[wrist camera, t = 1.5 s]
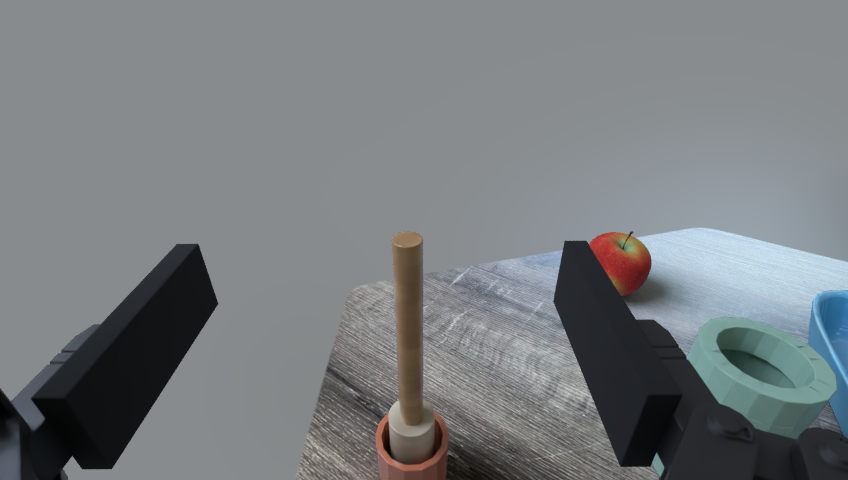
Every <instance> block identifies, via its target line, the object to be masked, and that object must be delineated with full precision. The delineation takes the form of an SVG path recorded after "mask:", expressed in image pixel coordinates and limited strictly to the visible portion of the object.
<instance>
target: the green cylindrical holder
mask: <svg viewBox="0 0 848 480" xmlns="http://www.w3.org/2000/svg"><path fill="white" fill-rule="evenodd" d="M686 359H687V360H689V361H690V363H691V364H692V365H693V367H694V368H695V370H696V371H697V373H698V374H699V375H700V377H701V378H702V380H703V381H704V383H705V384H706V385H707V387H708V388H709V390H710V391H711V393H712V394H713V395H714V397H715V398H716V400H717V401H718V402H719V404H722V405H725V406H728V407H731V408H732V409H734V410H736V411H737V412H739V413H741V414H742V415H743V416H744V417H745V418H746V419H748V420H749V421H750V422H751V423H752V424H753V426H754V428H756V429H759V430H762V431H766V432H770V433H774V434H778V435H782V436H786V437H789V438H793V439H797V438H798V437H799V435H800V434H801V433H802V432H803V431H804V430H805V429H808V428H809V426H810V425H811V424H812V422H813V421H814V420H815V419H816V417H817V416H818V415H819V413H820V412H821V411H822V409H823V408H824V407H825V405H826V404H827V403H828V401H829V400H830V399H831V397H832V396H833V395H834V394H835V392H836V391H837V383H836V376H835V374H834V372H833V371H832V369H831V368H830V366H829V365H828V363H827V362H826V360H825V359H824V358H823V357H822V356H820V355H819V354H818V353H817V352H816V351H815V350H814V349H812V348H811V347H810V346H808V345H807V344H806V343H804V342H803V341H801V340H799V339H798V338H796V337H794V336H793V335H791V334H789V333H787V332H785V331H783V330H780V329H778V328H775V327H773V326H771V325H768V324H765V323H762V322H758V321H754V320H750V319H744V318H735V317H721V318H716V319H711V320H710V321H708V322H707V323H705V324H704V325H703V326H701V328H700V330H699V332H698V334H697V337H696V339H695V341H694V343H693V345H692V347H691V350H690V352H689V354H688V356H687V358H686ZM652 464H653V466H654V468H655V470H656V472H657V473H658V475H659V476H661V474H662V472H663V470H664V466H663V464H662V462H661V460H660V458H659V456H658V454H657V453H656V455H655V457H654V460H653V462H652Z"/></svg>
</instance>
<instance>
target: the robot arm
mask: <svg viewBox="0 0 848 480" xmlns="http://www.w3.org/2000/svg"><path fill="white" fill-rule="evenodd" d="M553 302H554V304H555V307H556V309H557V311H558V314H559V316H560V319H561V321H562V324H563V326H564V329H565V331H566V334H567V336H568V339H569V341H570V344H571V346H572V348H573V351H574V353H575V356H576V358H577V361H578V363H579V366H580V368H581V371H582V373H583V376H584V378H585V381H586V383H587V385H588V388H589V390H590V393H591V395H592V398H593V400H594V403H595V405H596V408H597V410H598V413H599V415H600V418H601V420H602V422H603V425H604V427H605V430H606V432H607V435H608V437H609V440H610V442H611V445H612V447H613V450H614V452H615V455H616V457H617V459H618V462H619V464H620V467H650V466H651V464H652V462H653V460H654V457H655V455H656V453H657V454H658V456H659V458H660V460H661V462H662V464H663V466H664V470H663V472H662V474H661V476H660V478H659V480H848V438H846V437H845V436H842V435H840V434H838V433H835V432H833V431H831V430H826V429H821V428H809V429H805V430H804V431H803V432H802V433H801V434H800V435H799V437H798V438H797V439H793V438H789V437H786V436H782V435H778V434H774V433H770V432H766V431H762V430H759V429H756V428H754V426H753V424H752V423H751V422H750V421H749V420H748V419H746V418H745V417H744V416H743V415H742V414H741V413H739V412H737V411H736V410H734V409H732V408H731V407H728V406H725V405H722V404H719V402H718V401H717V400H716V398H715V397H714V395H713V394H712V393H711V391H710V390H709V388H708V387H707V385H706V384H705V383H704V381H703V380H702V378H701V377H700V375H699V374H698V373H697V371H696V370H695V368H694V367H693V365H692V364H691V363H690V361H689V360H687V359H686V356H685V354H684V353H683V351H682V350H681V348H679V347H678V344H677V343H676V341H675V340H674V338H673V337H672V336H671V334H670V333H669V331H667V330H666V329H665V328H663V327H662V326H661V325H660V324H658V323H657V322H656V321H654V320H636V319H635V318H634V316H633V314H632V313H631V311H630V310H629V308H628V306H627V305H626V303H625V302H624V300H623V298H622V297H621V295H620V294H619V292H618V291H617V289H616V287H615V286H614V284H613V283H612V281H611V279H610V278H609V276H608V275H607V273H606V271H605V270H604V268H603V267H602V265H601V263H600V262H599V260H598V259H597V257H596V256H595V254H594V252H593V251H592V249H591V248H590V246H589V244H588V243H587V241H565V242H564V248H563V253H562V258H561V264H560V269H559V274H558V280H557V285H556V290H555V296H554V301H553ZM217 305H218V302H217V299H216V296H215V293H214V290H213V287H212V284H211V281H210V278H209V275H208V272H207V269H206V266H205V263H204V260H203V257H202V254H201V251H200V248H199V245H198V244H177V245H176V246H175V247H174V248H173V249H172V250H171V251H170V252H169V253H168V254H167V255H166V256H165V257H164V258H163V259H162V260H161V262H160V263H159V264H158V265H157V266H156V267H155V268H154V269H153V270H152V271H151V272H150V273H149V274H148V275H147V276H146V277H145V278H144V279H143V280H142V281H141V283H140V284H139V285H138V286H137V287H136V288H135V289H134V290H133V291H132V292H131V293H130V294H129V295H128V296H127V297H126V298H125V299H124V300H123V302H122V303H121V304H120V305H119V306H118V307H117V308H116V309H115V310H114V311H113V312H112V313H111V314H110V315H109V316H108V317H107V318H106V319H105V321H104V322H103V323H102V324H100V325H98V324H97V325H92V326H91V327H89V328H88V329H86V330H85V331H83V332H82V333H80V334H79V335H77V336H75V337H74V339H72V340H71V341H70V342H69V343H68V344H67V345H66V346H65V347H64V348H63V349H62V351H61V353H59V354H58V355H56V356H55V357H54V359H53V360H52V361H51V362H50V365H47V366H46V367H45V368H44V369H43V370H42V371H41V372H40V373H39V374H38V375H37V376H36V377H35V378H34V379H33V380H32V381H31V382H30V383H29V384H28V385H27V386H26V387H25V388H24V389H23V390H22V391H21V392H20V393H19V394H18V395H17V396H16V397H15V398H14V399H13V400H12V401H10V400H9V399H8V398H7V397H6V395H5V394H4V392H3V391H2V390H1V389H0V480H68V477H67V475H66V473H65V471H64V470H63V467H64V466H65V465H66V463H67V462H68V461H69V459H70V458H71V457H72V456H73V457H74V459H75V460H76V461H77V463H78V464H79V465H80V467H81V468H82V469H112V468H113V466H114V465H115V463H116V462H117V460H118V459H119V457H120V455H121V454H122V452H123V451H124V449H125V448H126V446H127V445H128V443H129V442H130V440H131V438H132V437H133V435H134V434H135V432H136V431H137V429H138V428H139V426H140V424H141V423H142V421H143V420H144V418H145V417H146V415H147V414H148V412H149V410H150V409H151V407H152V406H153V404H154V403H155V401H156V400H157V398H158V397H159V395H160V393H161V392H162V390H163V389H164V387H165V386H166V384H167V383H168V381H169V379H170V378H171V376H172V375H173V373H174V372H175V370H176V369H177V367H178V365H179V364H180V362H181V361H182V359H183V358H184V356H185V354H186V353H187V351H188V350H189V348H190V347H191V345H192V344H193V342H194V341H195V339H196V337H197V336H198V334H199V333H200V331H201V330H202V328H203V327H204V325H205V323H206V322H207V320H208V319H209V317H210V316H211V314H212V313H213V311H214V310H215V308H216V306H217Z"/></svg>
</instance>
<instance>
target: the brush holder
mask: <svg viewBox="0 0 848 480" xmlns="http://www.w3.org/2000/svg"><path fill="white" fill-rule="evenodd" d="M434 413H435V436H434V457H433V458H431V459H429V460H427V461H425V462H423V463H421V464H414V465H405V464H402V463H400V462H398V461H395V460H393V459H392V458H391V449H390V434H389V420H388V416H389V413H388V414H387V415H386V416H385V417H384V418H383V419H382V420H381V421H380V423H379V426H378V429H377V432H376V436H375V441H376V451H377V461H378V471H379V478H380V480H446V477H447V464H448V444H449V433H448V430H447V427H446V424H445V421H444V420H443V419H442V418H441V417H440V416H439V415H438V414H437V413H436V412H435V411H434Z"/></svg>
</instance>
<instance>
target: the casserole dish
mask: <svg viewBox="0 0 848 480" xmlns="http://www.w3.org/2000/svg"><path fill="white" fill-rule="evenodd" d="M808 341H809V346H810V347H811V348H812V349H814V350H815V351H816V352H817V353H818V354H819V355H820V356H822V357H823V358H824V359H825V360H826V362H827V363H828V365H829V366H830V368H831V369H832V371H833V372H834V374H835V376H836V383H837V391H836V392H835V394H834V395H833V396H832V397H831V399H830V400H829V403H830V405H831V408H832V410H833V412H834V414H835V417H836V419H837V421H838V424H839V426H840V428H841V431H842V433H843V436H845V437H846V438H848V290H830V291H824V292H821V293H819V294H818V295H816V296H815V298H814V300H813V303H812V311H811V318H810V324H809V337H808Z"/></svg>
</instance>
